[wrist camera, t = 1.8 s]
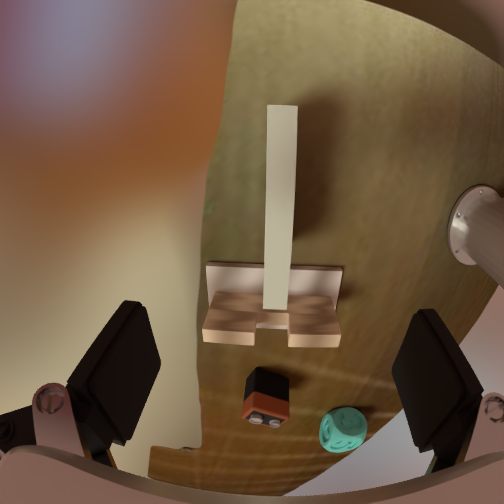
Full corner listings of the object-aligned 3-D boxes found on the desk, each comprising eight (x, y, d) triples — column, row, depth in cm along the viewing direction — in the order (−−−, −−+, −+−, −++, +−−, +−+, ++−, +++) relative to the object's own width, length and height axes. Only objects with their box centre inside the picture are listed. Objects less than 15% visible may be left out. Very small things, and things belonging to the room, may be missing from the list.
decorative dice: (349, 424, 54) (353, 452, 46) (318, 423, 54) (320, 452, 46) (363, 406, 50) (370, 436, 43) (330, 405, 50) (334, 437, 43)
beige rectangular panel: (288, 116, 29) (297, 106, 17) (283, 244, 36) (286, 309, 23) (270, 115, 29) (267, 104, 17) (267, 243, 36) (262, 308, 23)
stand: (340, 266, 37) (356, 306, 28) (329, 324, 41) (339, 368, 33) (207, 261, 38) (189, 300, 30) (212, 319, 42) (199, 362, 34)
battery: (256, 365, 46) (252, 412, 37) (290, 377, 47) (290, 423, 38) (245, 378, 48) (239, 423, 39) (277, 389, 48) (276, 433, 39)
